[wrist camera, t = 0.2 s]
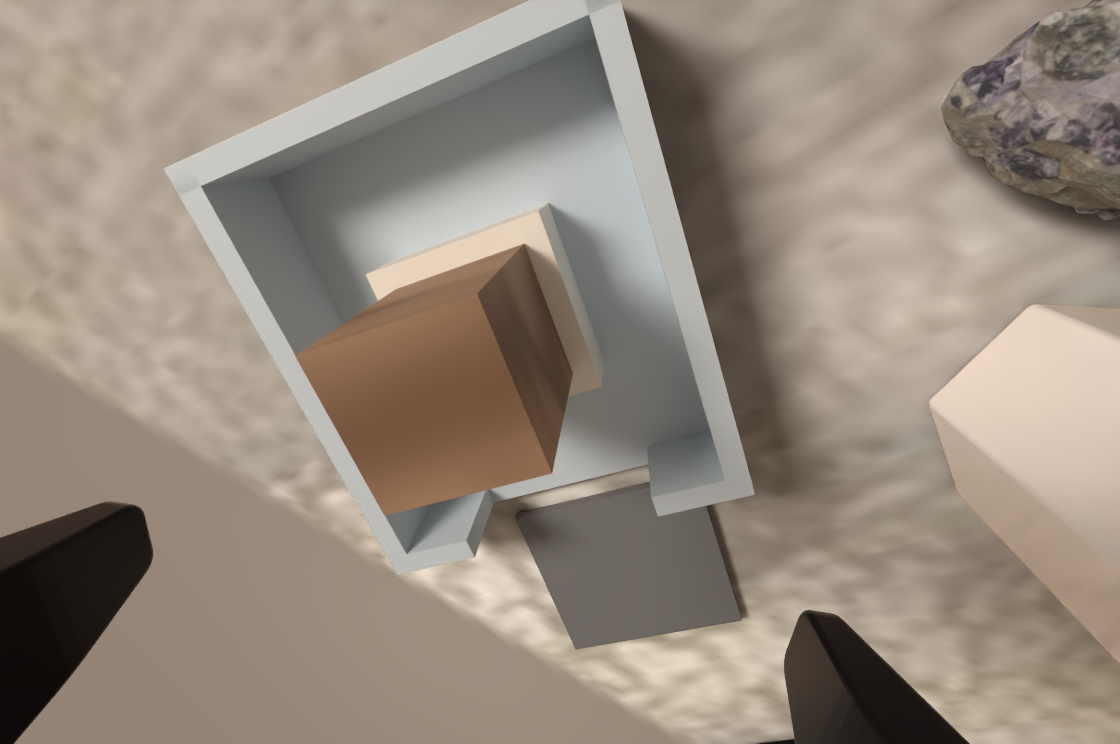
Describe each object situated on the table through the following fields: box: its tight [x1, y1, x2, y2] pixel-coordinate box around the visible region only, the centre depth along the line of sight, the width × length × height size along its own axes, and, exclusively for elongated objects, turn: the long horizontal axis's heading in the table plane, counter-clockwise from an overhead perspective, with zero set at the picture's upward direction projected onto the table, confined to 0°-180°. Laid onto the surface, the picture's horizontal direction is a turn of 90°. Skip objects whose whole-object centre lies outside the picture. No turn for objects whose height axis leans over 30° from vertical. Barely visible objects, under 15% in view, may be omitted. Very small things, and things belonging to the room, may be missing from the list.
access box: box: [164, 0, 755, 575], centre depth 19 cm, size 16×14×4 cm
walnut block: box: [295, 244, 573, 516], centre depth 15 cm, size 4×4×6 cm
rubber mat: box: [516, 482, 742, 649], centre depth 25 cm, size 8×8×1 cm
